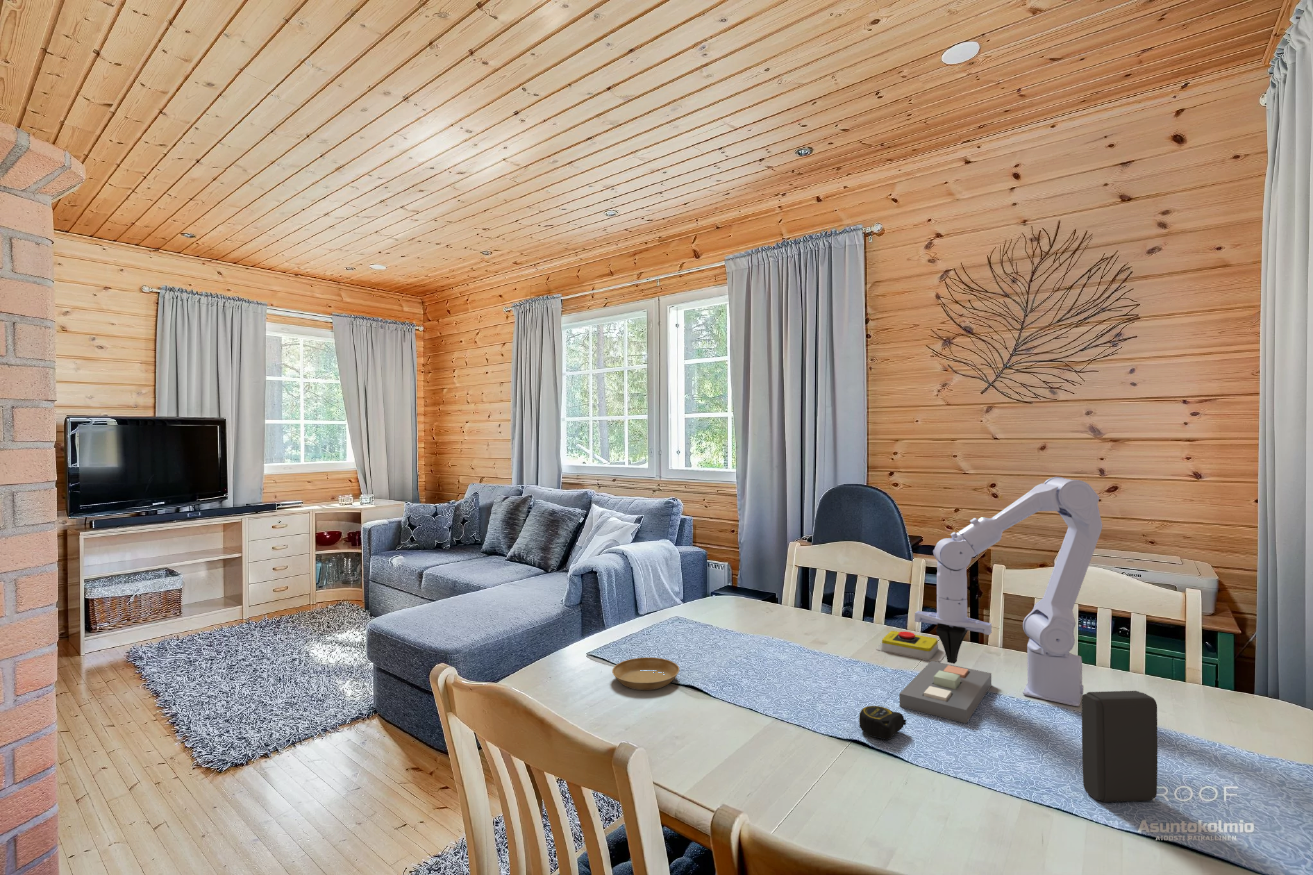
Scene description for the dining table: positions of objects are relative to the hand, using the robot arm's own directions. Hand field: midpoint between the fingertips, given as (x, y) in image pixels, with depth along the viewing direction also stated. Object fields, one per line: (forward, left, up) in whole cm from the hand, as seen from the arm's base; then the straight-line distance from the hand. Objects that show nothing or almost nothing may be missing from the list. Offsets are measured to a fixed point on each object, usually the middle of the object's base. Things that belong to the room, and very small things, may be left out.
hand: (952, 661), depth 130 cm
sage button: (0, +5, -4) cm, 6 cm away
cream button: (0, +12, -5) cm, 13 cm away
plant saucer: (+54, +36, -6) cm, 65 cm away
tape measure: (+5, +28, -6) cm, 29 cm away
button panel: (0, +5, -5) cm, 7 cm away
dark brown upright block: (-29, +27, -6) cm, 40 cm away
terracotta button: (0, -2, -5) cm, 6 cm away
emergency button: (+14, -18, -6) cm, 23 cm away
